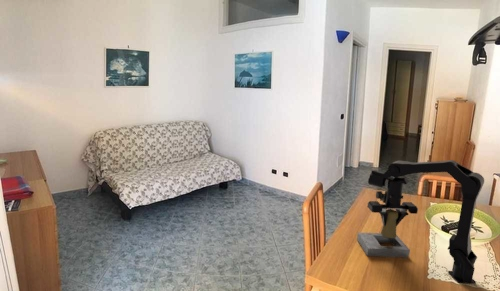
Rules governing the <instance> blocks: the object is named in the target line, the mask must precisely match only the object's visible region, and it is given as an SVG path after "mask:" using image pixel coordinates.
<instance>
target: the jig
mask: <svg viewBox="0 0 500 291" xmlns="http://www.w3.org/2000/svg"><path fill="white" fill-rule="evenodd" d="M356 236H357V237H356V240H357V242H358V244H359V245H360V247H361V248H362V250H363V252H364V253H365V255H366V256H367V257H385V258H386V257H387V258H410V252H411V249H410V247H408V246H407V245H406V243H405V242H404V241H403V240H402V239H401V238H400V237H399V235H397V234H396V237H395V238H387V237H384V236H383V235H382V234H381V232H379V233H377V232H357V235H356ZM380 243H381V244H392V245H393V246H389V245H387V246H386V245H385V246H384V245H381V244H380Z"/></svg>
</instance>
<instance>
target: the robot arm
mask: <svg viewBox="0 0 500 291" xmlns="http://www.w3.org/2000/svg"><path fill="white" fill-rule="evenodd" d="M428 173H429V174H431V173H447V174H448V175H450V176H451V177H452V178H453V179H454V180H455V181H456V182H457V183H458V184H460V185H461V186H460V188H461V189H460V191H461V197H462V201H461V202H462V203H461V207H460V213H459V218H458V224H457V230H456V234H455V233H452V235H451V236H450V238H449V241H448V244H449V245H448V247H447V250H448V253H449V256H451V257H452V259H453V264H452V270H448V271H447V273H448V274H449V275H450V276H451V278H453V280H455V281H456V282H457V283H459V284H476V283H477V282H476V280H475V279H474V278H473V277H474V273H475V264H476V261H477V259H478V256H477V255H476V254H475V252H474V251H473V250H472V240H471V231H472V225H473V220H474V215H475V208H476V205H477V204H476V203H477V199H478V197H479V196H480V193H481V191H482V188H483V186H484V184H485V177H484V176H483V175H482V174H480V173H478V172H474V171H473V170H471V169H470V168H467V167H466V166H464V165H461V164H460V163H459V162H457V161H455V160H453V159H450V160H449V159H448V160H441V161H440V160H438V161H423V162H422V161H420V162H412V161H406V160H396V161H393V162H392V163H390V164H389V165H388V167H387V170H386V171H385V172H384V171H380V170H377V169H372V170H371V173H370V175H369V177H368V180H367V182H368V185H369V186H372V187H376V188H379V189H384V188H385V187H387V188H386V190H385V192H384V193H383V191H380V190H378V191H377V190H376V193H375V198H376V199H378V200H380V201H381V202H382V203H383V204H381V203H380V202H379V201H378V200H375V201H374V200H370V201H368V202H367V208H368V209H369V211H371V212H372V213H373V214H374V213H378V214H380V218H381V221H382V227H383V226H385V225H386V221H387V216H388V213H387V212H386V210H388V209H391V210H395V211H396V212H397V213H398V218H397V219H396V227H398V225H399V224H400V223H401V222H402V220H403V219H404V218H406V216H409V213H410V214H418V213H419V208H418V207H417V205H415V203H413V202H411V201H402V199H404V196H403V190H404V189H403V188H404V185H408V184H409V183H410V180H409V179H408V178H407V176H409V175H412V174H428Z"/></svg>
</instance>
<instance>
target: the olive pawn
mask: <svg viewBox="0 0 500 291" xmlns="http://www.w3.org/2000/svg"><path fill="white" fill-rule="evenodd" d="M386 212H387V213H388V216H387V221H386V225H385V226H383V225H382V228H381V231H380V233H381V234H382V235H383V236H384V237H387V238H395V237H396V235H397V226H396V219H397V218H398V213H397V212H396V209H386Z"/></svg>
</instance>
